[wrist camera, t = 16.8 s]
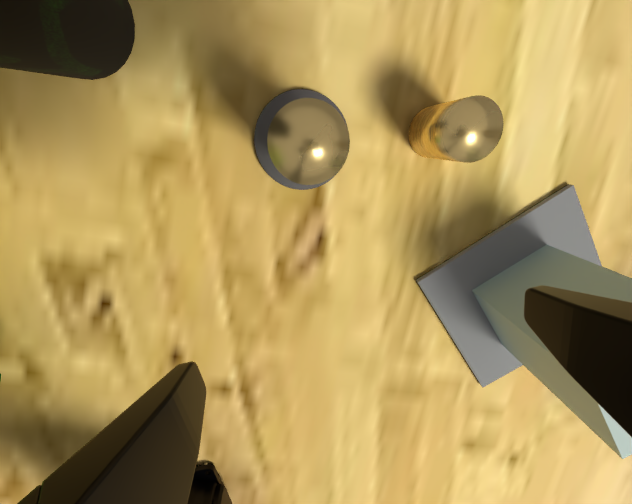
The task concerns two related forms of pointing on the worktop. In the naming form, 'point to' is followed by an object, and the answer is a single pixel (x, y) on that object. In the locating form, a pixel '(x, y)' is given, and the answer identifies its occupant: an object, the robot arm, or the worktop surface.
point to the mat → (491, 259)
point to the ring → (263, 129)
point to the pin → (457, 129)
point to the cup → (66, 36)
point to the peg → (308, 141)
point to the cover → (519, 339)
